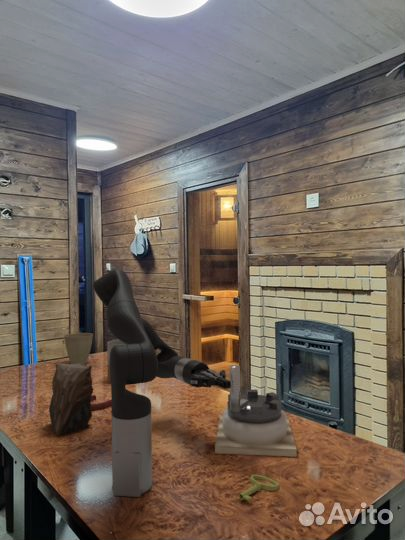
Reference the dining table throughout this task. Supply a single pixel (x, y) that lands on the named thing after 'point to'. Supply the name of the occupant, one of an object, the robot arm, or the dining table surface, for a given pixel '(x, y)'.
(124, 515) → the dining table surface
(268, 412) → the cap with crank handle
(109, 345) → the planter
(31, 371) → the dining table surface
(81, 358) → the plant pot
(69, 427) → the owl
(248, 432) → the cap housing
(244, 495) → the key
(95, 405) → the pliers
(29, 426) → the dining table surface
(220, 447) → the base board
